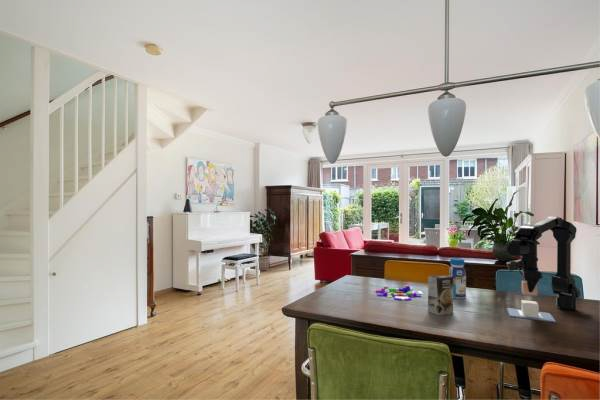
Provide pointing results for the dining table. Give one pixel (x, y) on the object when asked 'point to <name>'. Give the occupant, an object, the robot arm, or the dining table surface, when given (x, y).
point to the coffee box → (440, 294)
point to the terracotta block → (526, 290)
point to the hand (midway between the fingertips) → (529, 290)
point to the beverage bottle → (458, 277)
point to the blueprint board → (542, 316)
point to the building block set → (399, 293)
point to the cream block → (529, 308)
